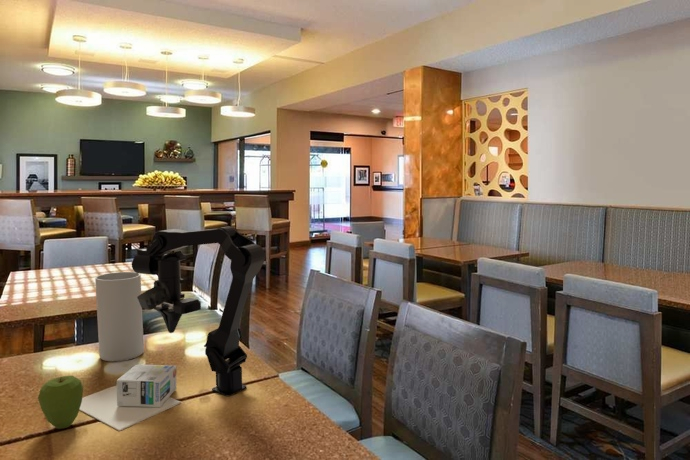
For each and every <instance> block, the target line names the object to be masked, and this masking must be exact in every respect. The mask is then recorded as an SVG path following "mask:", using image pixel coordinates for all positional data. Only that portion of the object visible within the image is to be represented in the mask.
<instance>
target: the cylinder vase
mask: <svg viewBox="0 0 690 460" xmlns="http://www.w3.org/2000/svg"><path fill="white" fill-rule="evenodd" d="M141 276H142V274H141V273H136V272H134V271H120V272H119V271H117V272H109V273H104V274H100V275H97V276H95V277H94V279H95V297H96V314H97V319H96V320H97V333H98V335H97V336H98V352H99V358H100V359H101V360H103V361H104V362H112V363H113V362H114V363H116V362H117V363H118V362H124V361H130V360H132V359H135V358H138V357H140V356H141V355H143V353H144V351H145V348H144V345H145V344H144V328H143V327H144V326H143V325H144V324H143V323H144V322H143V308H141V305H140V303H139V301H138V298H137V297H138V296H139V295H141V294H142V281H141V280H142V279H141V278H142V277H141Z"/></svg>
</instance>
